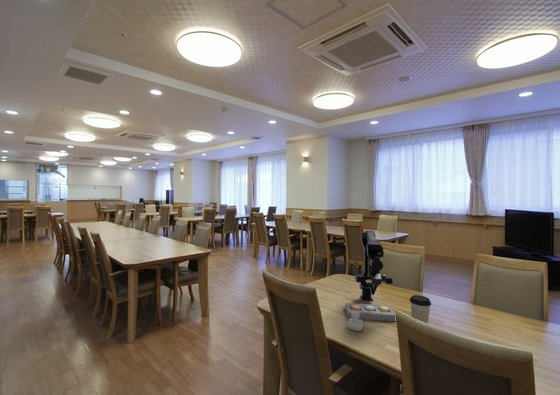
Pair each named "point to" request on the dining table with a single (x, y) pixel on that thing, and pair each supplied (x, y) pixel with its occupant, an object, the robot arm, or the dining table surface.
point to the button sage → (369, 308)
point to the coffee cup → (420, 307)
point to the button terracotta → (355, 307)
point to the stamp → (355, 321)
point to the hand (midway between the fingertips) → (372, 294)
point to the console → (371, 312)
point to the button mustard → (384, 309)
